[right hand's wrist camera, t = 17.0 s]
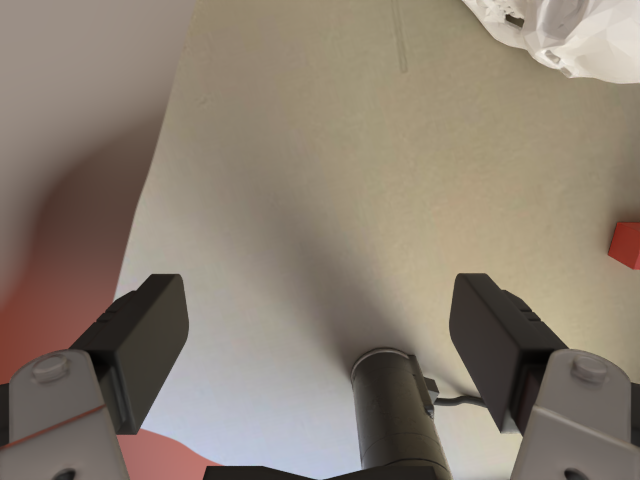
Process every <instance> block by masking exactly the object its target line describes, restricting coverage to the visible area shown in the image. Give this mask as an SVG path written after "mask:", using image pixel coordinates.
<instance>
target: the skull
mask: <svg viewBox="0 0 640 480" xmlns="http://www.w3.org/2000/svg"><path fill="white" fill-rule="evenodd" d="M462 1H463V2H464V3H465V4H466V5H467V6H468V7H469V9H470V10H471V11H472V12H473V13H474V14H475V15H476V17H477V18H478V19H479V21H480V22H481V23H482V24H483V26H484V27H485V28H486V30H487V31H488V32H489V33H490V34H491V35H492V36H493V38H494V39H496V40H498V41H500V42H502V43H504V44H506V45H508V46H512V47H517V48H523V49H525V50H527V51H528V52H529V53H530V55H531V56H532V57H533V58H534V59H535V60H537V61H538V62H539V63H541V64H543V65H545V66H547V67H549V68H554V69H558V70H560V71H561V72H562V73H563V74H564V75H565V76H566V77H568V78H573V77H592V78H597V79H600V80H603V81H606V82H612V83H618V84H628V83H640V0H462ZM506 14H510V15H511V16H513V17H515V18H522V19H523V20H525V21H524V24H523V27H520V26H518V25H515V24H513V23H511V22H509V21H507V20H506V18H505V16H506Z"/></svg>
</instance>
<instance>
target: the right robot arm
mask: <svg viewBox="0 0 640 480" xmlns="http://www.w3.org/2000/svg"><path fill="white" fill-rule="evenodd" d="M449 330H450V336H451V339H452V342H453V344H454V346H455V348H456V350H457V351H458V353H459V355H460V357H461V359H462V361H463V363H464V365H465V367H466V368H467V370H468V372H469V374H470V376H471V378H472V380H473V382H474V384H475V386H476V387H477V389H478V391H479V393H480V395H481V397H482V399H483V400H482V399H479V398H475V397H470V396H460V397H457V398H452V399H446V398H437V396H438V394H439V391H438V388H437V386H436V383H435V381H434V380H433V379H429V378H426V377H423V375H422V372H421V369H420V367H419V364H418V361H417V358H416V356H408V355H406V354H405V353H403V352H401V351H399V350H395V349H390V348H382V349H376V350H373V351H370V352H368V353H366V354H364V355H363V356H361V357H360V358H359V359H358V360H357V361H356V363H355V364H354V366H353V368H352V372H351V382H352V388H353V394H354V403H355V412H356V421H357V430H358V439H359V448H360V457H361V466H362V470H360V471H356V472H352V473H348V474H344V475H340V476H336V477H332V478H328V479H324V480H453V477H452V474H451V471H450V468H449V465H448V462H447V459H446V456H445V453H444V450H443V448H442V445H441V442H440V439H439V436H438V433H437V430H436V427H435V424H434V406H433V405H440V406H456V405H459V404H462V403H469V404H475V405H479V406H482V407H485V408H488V410H489V412H490V414H491V416H492V418H493V420H494V422H495V423H496V425H497V427H498V429H499V431H500V433H521V435H522V436H523V439H522V443H521V446H520V449H519V452H518V455H517V458H516V462H515V465H514V468H513V471H512V474H511V477H510V480H640V384H636V383H631V382H630V380H629V377H628V376H627V375H626V374H625V372H624V371H622V370H621V369H620V368H619V367H618V366H616V365H615V364H613V363H612V362H610V361H608V360H606V359H605V358H602V357H600V356H598V355H595V354H592V353H589V352H586V351H581V350H575V349H569V348H568V347H567V346H566V345H565V344H564V343H563V342H562V341H561V340H560V339H559V337H558V336H557V335H556V334H555V333H554V332H553V331H552V330H551V329H550V328H549V327H548V326H547V325H546V324H545V323H544V322H543V321H541V319H540V318H539V317H538V316H537V315H536V314H535V313H534V312H532V310H531V309H530V307H529V306H528V305H527V304H526V303H525V302H524V301H523V300H522V299H520V298H519V297H517V296H515V295H513V294H511V293H510V292H508V291H506V290H501V289H500V288H499V287H498V286H497V285H496V284H495V283H494V281H493V280H492V279H491V278H490V277H489V276H488V275H487V274H485V273H459V274H458V275H457V276H456V279H455V284H454V291H453V298H452V305H451V312H450V319H449ZM188 331H189V319H188V312H187V305H186V299H185V292H184V285H183V280H182V277H181V275H180V274H151V275H150V276H149V277H148V278H147V279H146V281H145V282H144V283H143V284H142V285H141V286H140V287H139V288H138V289H137V290H136V291H131V292H129V293H127V294H126V295H124V296H122V297H120V298H118V299H117V300H115V301H114V302H113V303H112V305H111V306H110V307H109V308H108V309H107V310H106V311H105V313H103V314H102V315H101V316H100V317H99V318H98V319H97V321H96V322H94V323H93V324H92V325H91V326H90V327H89V328H88V329H87V330H86V331H85V332H84V333H83V334H82V335H81V336H80V337H79V338H78V339H77V340H76V341H75V342H74V343H73V345H72V346H71V347H70V348H69V349H65V350H59V351H54V352H51V353H48V354H45V355H42V356H40V357H38V358H35V359H34V360H32V361H30V362H28V363H27V364H25V365H24V366H22V367H21V368H20V369H19V370H18V371H16V372H15V374H14V375H13V376H12V377H11V380H10V382H9V383H7V384H2V385H0V480H130V477H129V474H128V471H127V468H126V465H125V462H124V458H123V455H122V452H121V449H120V446H119V443H118V439H117V436H116V435H136V434H137V432H138V431H139V429H140V427H141V425H142V423H143V421H144V419H145V418H146V416H147V414H148V412H149V410H150V408H151V406H152V404H153V403H154V401H155V399H156V397H157V395H158V393H159V391H160V389H161V388H162V386H163V384H164V382H165V380H166V378H167V376H168V374H169V373H170V371H171V369H172V367H173V365H174V363H175V361H176V359H177V358H178V356H179V354H180V352H181V350H182V348H183V346H184V345H185V343H186V340H187V337H188ZM203 480H316V479H312V478H308V477H304V476H300V475H296V474H292V473H288V472H284V471H280V470H276V469H272V468H268V467H264V466H207V467H206V471H205V474H204V477H203Z"/></svg>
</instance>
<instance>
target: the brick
mask: <svg viewBox="0 0 640 480" xmlns="http://www.w3.org/2000/svg"><path fill="white" fill-rule="evenodd" d="M608 255H609V256H611V257H612V258H614V259H616V260H618V261H619V262H621V263H623V264H625V265H626V266H628V267H630V268H632V269H633V270H640V222H618V223H617V226H616V229H615V233H614V236H613V239H612V243H611V246H610V249H609V253H608Z"/></svg>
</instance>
